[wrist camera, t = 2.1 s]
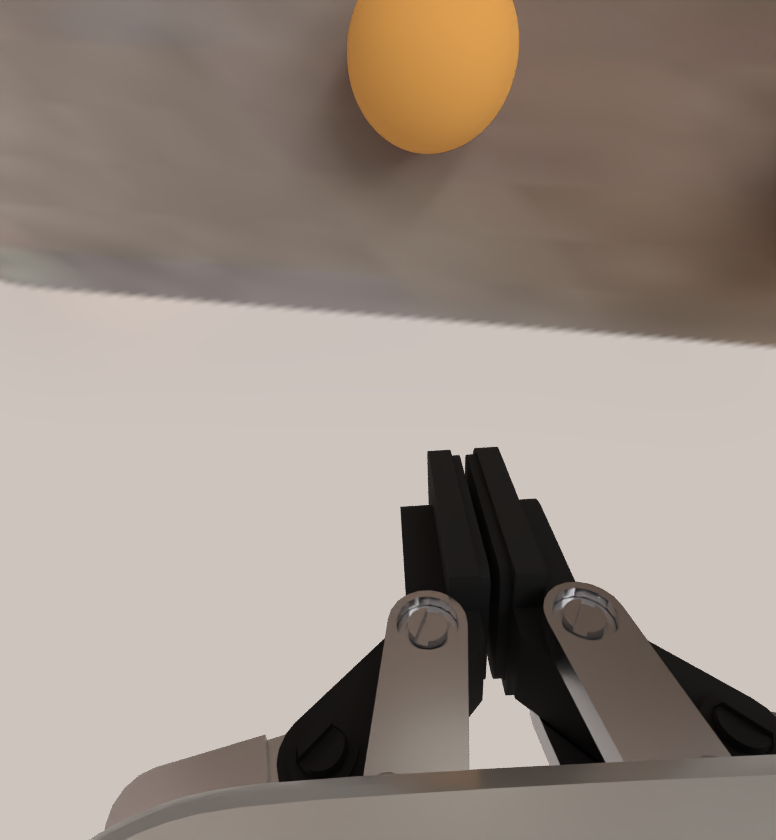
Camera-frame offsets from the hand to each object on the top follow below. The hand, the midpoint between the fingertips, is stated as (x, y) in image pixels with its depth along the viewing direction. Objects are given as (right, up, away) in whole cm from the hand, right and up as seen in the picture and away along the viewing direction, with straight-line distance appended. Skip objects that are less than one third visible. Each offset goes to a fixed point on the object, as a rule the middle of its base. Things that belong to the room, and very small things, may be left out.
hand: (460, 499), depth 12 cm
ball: (0, +14, +4) cm, 14 cm away
